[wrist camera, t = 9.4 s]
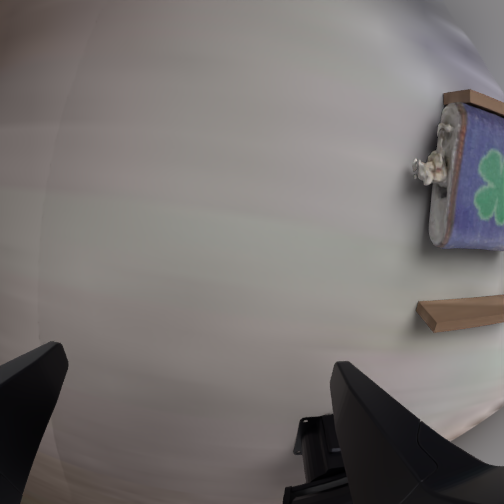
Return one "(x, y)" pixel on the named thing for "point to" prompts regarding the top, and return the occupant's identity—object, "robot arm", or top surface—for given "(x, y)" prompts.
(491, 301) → the frame
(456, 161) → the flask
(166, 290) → the top surface
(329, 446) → the robot arm
